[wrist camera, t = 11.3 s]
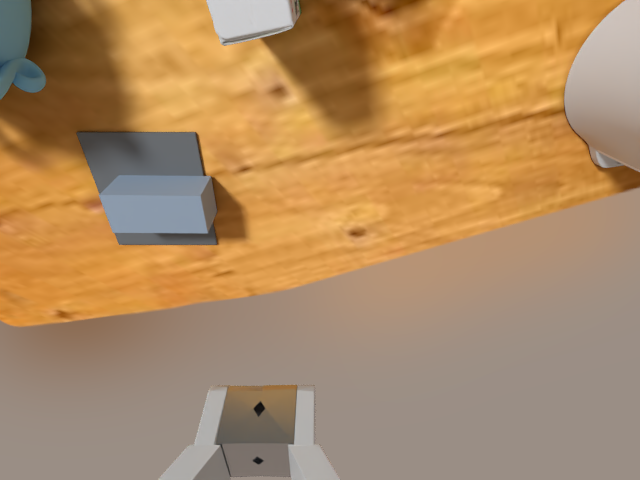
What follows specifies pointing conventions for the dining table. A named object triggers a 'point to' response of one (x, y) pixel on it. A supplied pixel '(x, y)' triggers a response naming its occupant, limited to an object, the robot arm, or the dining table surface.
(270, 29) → the ink box
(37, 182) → the dining table surface
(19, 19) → the decorative pot
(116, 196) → the block
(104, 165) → the mat
